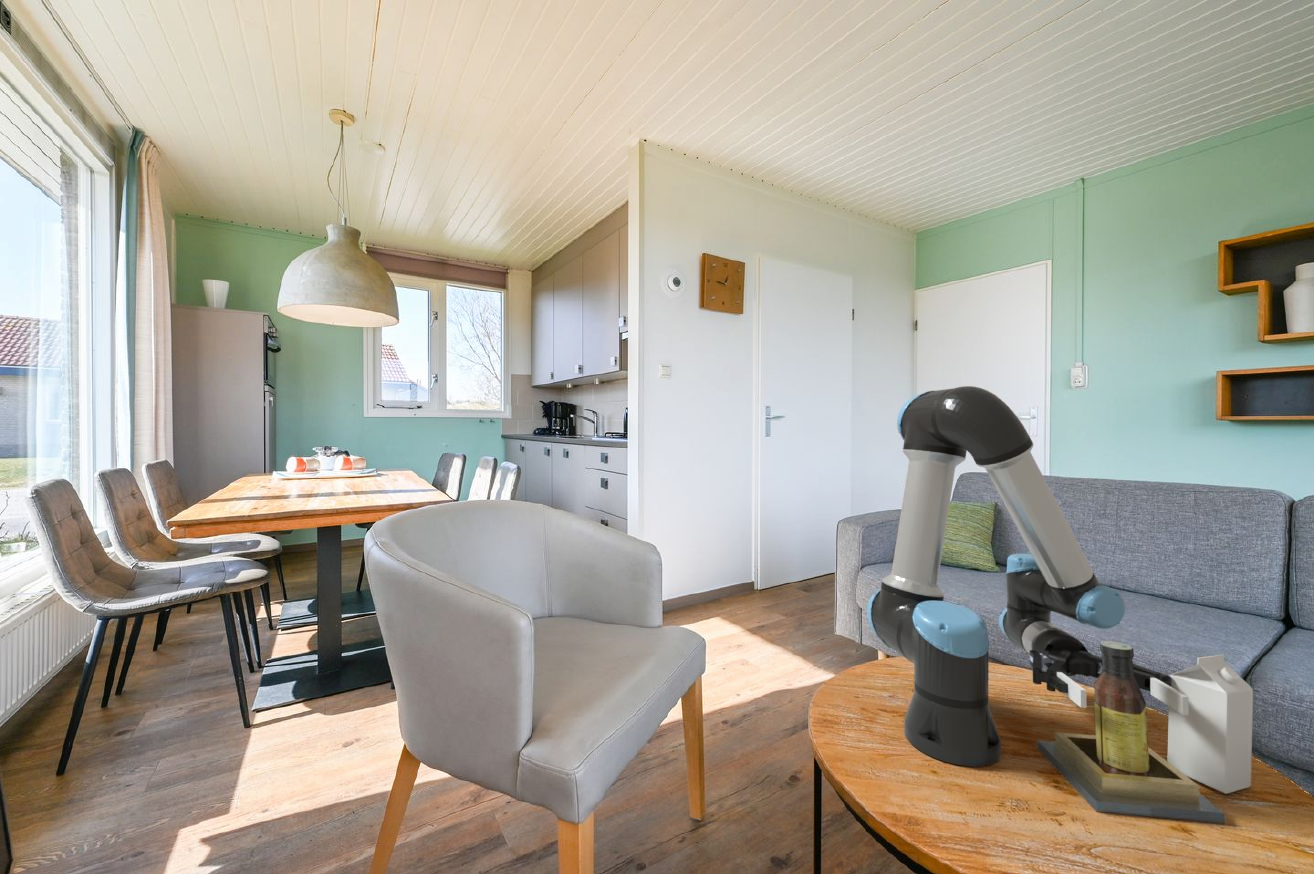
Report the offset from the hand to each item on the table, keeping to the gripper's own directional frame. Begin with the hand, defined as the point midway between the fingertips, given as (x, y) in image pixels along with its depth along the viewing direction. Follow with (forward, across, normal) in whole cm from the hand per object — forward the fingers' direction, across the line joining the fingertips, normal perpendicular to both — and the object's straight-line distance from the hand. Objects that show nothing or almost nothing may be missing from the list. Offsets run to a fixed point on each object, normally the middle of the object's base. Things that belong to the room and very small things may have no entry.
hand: (1134, 702), depth 81 cm
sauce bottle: (-3, 0, -13) cm, 13 cm away
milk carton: (-6, -14, -14) cm, 21 cm away
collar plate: (-3, 0, -14) cm, 14 cm away
